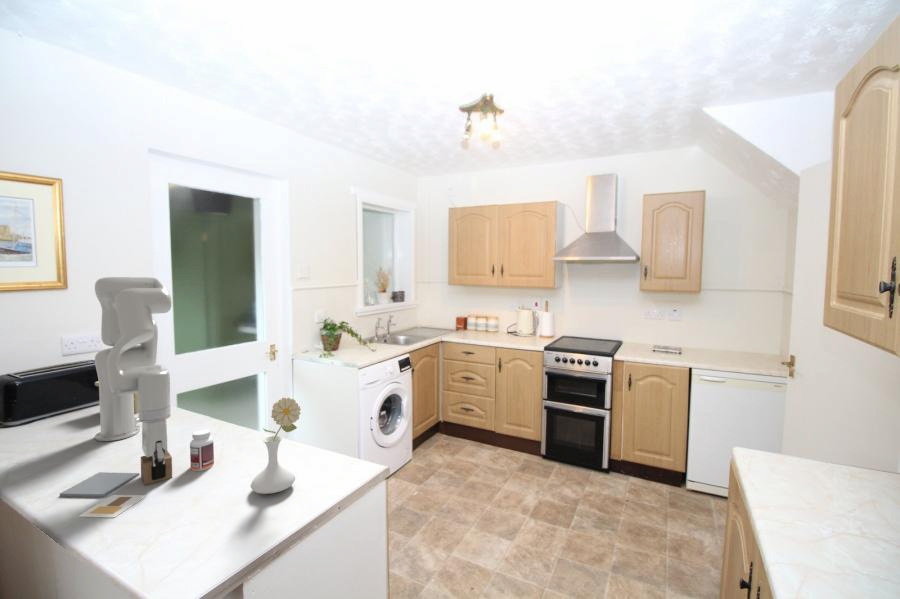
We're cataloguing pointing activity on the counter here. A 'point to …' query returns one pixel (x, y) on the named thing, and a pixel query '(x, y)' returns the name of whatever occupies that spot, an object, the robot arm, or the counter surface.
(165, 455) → the walnut block
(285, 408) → the flower in vase
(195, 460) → the pill bottle
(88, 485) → the slate plate
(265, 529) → the counter surface
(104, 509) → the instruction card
